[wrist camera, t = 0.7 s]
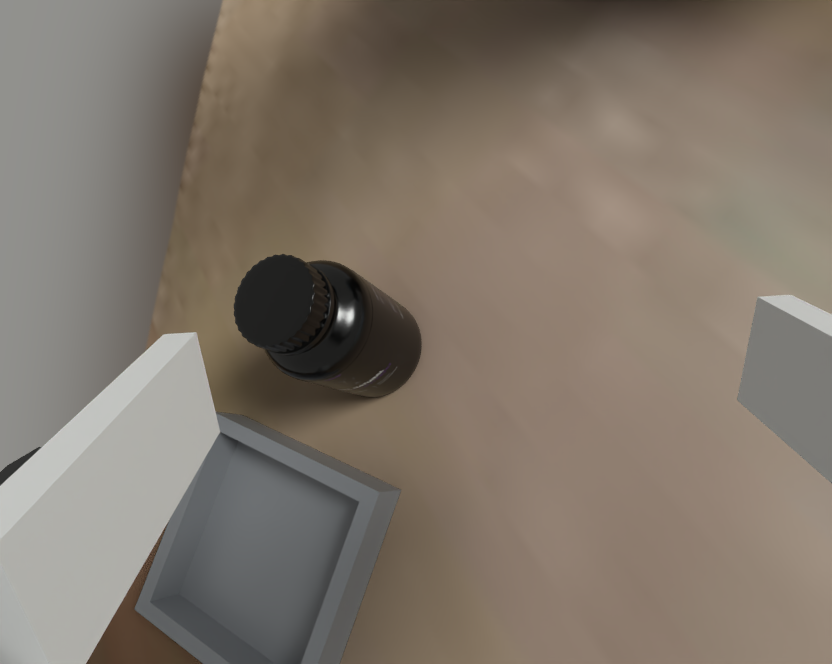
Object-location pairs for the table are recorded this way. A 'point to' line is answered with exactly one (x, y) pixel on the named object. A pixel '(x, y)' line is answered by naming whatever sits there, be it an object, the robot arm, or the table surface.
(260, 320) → the supplement bottle
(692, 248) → the table surface
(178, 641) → the tray
